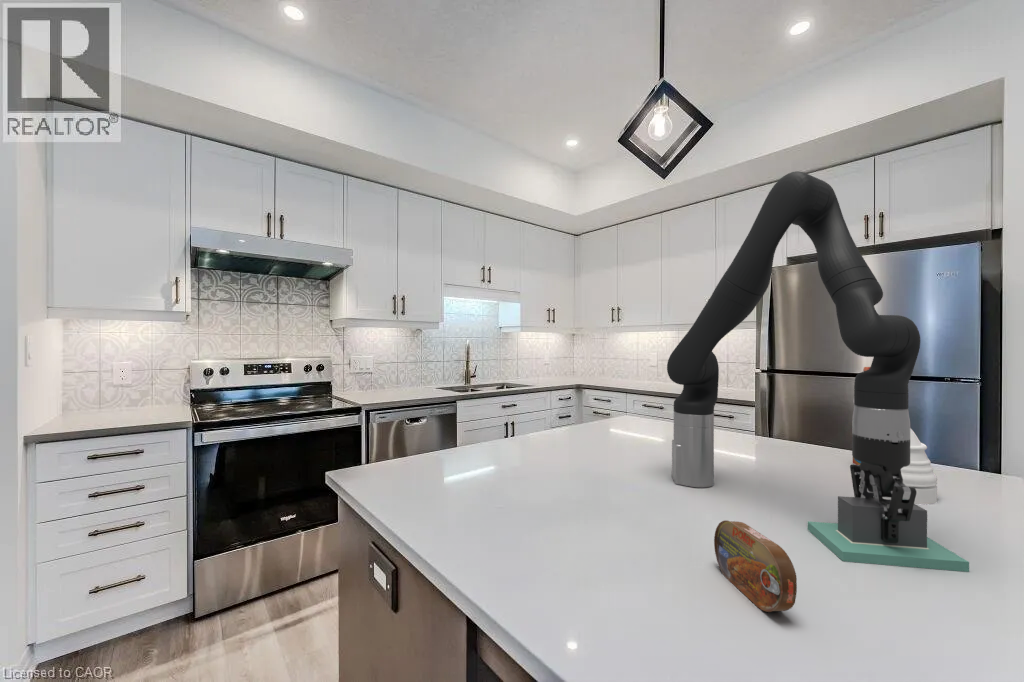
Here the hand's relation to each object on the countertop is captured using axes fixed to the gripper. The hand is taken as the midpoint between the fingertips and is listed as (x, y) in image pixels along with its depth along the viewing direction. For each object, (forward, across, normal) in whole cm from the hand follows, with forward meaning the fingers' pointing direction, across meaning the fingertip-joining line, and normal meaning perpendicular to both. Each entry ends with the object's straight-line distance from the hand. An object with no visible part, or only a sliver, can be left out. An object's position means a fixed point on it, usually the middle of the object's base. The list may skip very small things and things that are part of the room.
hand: (880, 535), depth 75 cm
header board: (+2, 0, 0) cm, 2 cm away
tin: (+3, +18, -26) cm, 31 cm away
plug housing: (+1, 0, 0) cm, 1 cm away
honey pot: (+3, -31, +20) cm, 37 cm away
